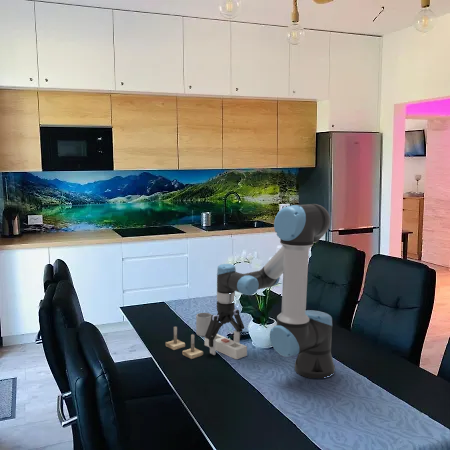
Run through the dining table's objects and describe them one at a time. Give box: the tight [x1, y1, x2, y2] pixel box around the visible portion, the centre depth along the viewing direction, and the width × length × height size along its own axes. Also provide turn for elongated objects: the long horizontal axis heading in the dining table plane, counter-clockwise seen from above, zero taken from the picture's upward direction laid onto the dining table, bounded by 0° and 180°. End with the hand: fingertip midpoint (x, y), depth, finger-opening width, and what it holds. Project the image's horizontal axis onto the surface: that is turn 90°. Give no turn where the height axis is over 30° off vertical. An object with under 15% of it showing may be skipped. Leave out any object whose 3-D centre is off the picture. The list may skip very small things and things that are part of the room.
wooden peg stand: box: [165, 326, 204, 360], centre depth 206 cm, size 18×6×8 cm, turn 42°
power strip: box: [204, 333, 248, 360], centre depth 207 cm, size 20×6×5 cm, turn 42°
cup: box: [195, 312, 213, 337], centre depth 227 cm, size 7×10×9 cm
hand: (224, 349), depth 207 cm, fingers open, 13 cm apart
